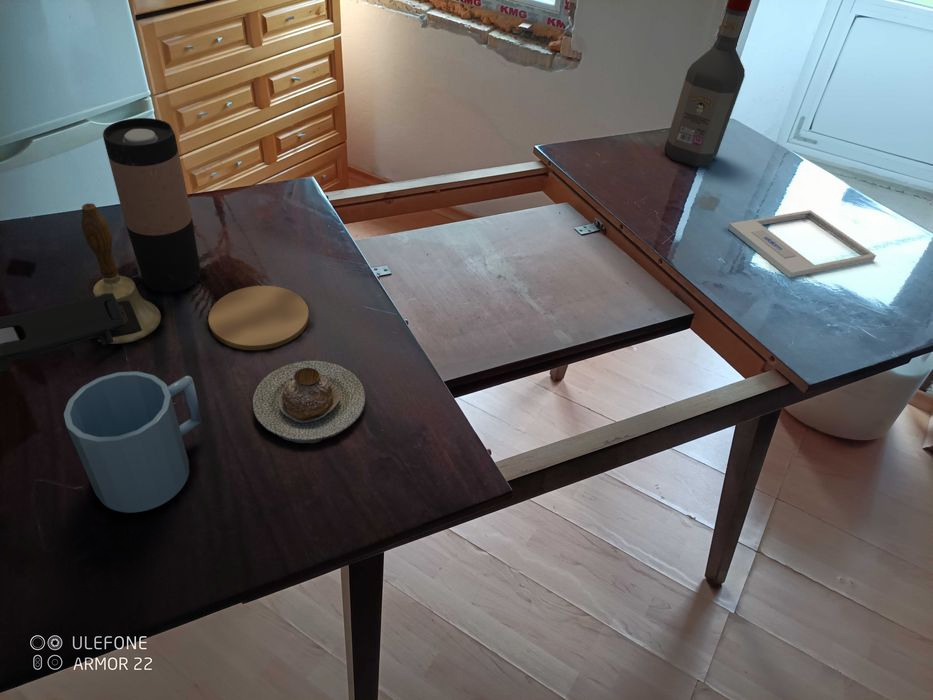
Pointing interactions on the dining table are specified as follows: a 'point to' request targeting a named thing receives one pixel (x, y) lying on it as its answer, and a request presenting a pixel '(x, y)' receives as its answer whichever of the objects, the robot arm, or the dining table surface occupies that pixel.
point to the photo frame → (786, 255)
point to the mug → (132, 438)
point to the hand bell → (116, 275)
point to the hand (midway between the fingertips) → (59, 345)
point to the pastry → (308, 401)
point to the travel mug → (154, 201)
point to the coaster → (258, 317)
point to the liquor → (709, 95)
